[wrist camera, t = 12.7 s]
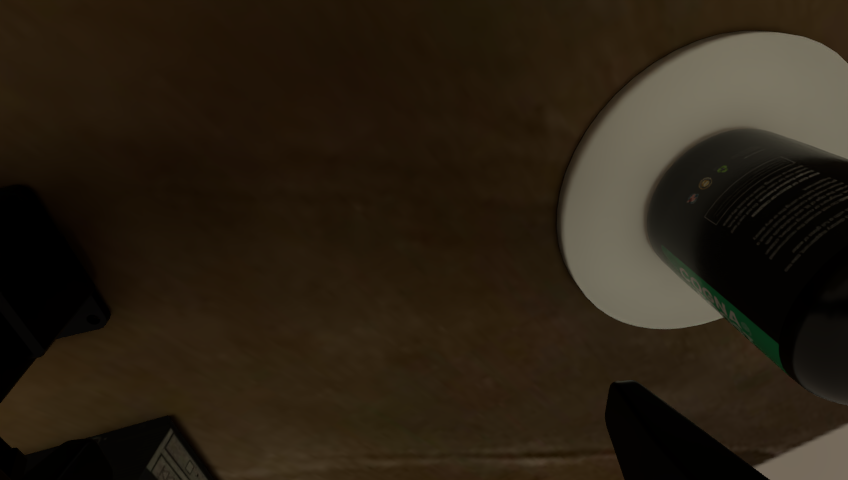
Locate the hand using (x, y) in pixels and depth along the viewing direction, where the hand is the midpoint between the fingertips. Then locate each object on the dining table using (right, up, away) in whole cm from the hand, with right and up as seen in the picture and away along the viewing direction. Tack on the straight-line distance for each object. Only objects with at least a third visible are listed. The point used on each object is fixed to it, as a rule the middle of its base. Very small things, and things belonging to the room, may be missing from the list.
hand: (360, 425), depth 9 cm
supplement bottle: (+14, +5, +13) cm, 20 cm away
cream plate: (+14, +5, +14) cm, 20 cm away
